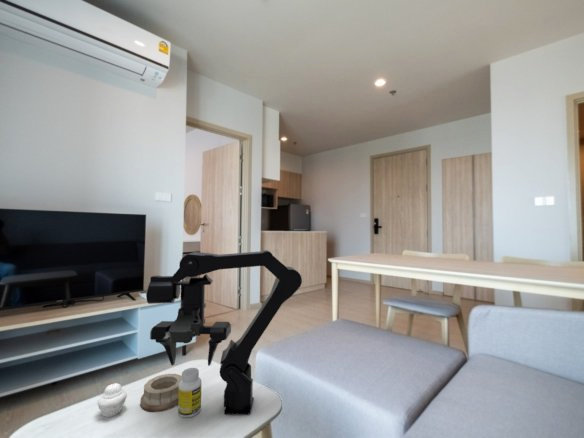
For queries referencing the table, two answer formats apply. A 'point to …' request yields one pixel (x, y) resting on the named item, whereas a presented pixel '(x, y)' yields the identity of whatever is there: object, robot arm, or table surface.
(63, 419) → the table surface
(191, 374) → the supplement bottle
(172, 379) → the stone fire pit
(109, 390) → the muffin
